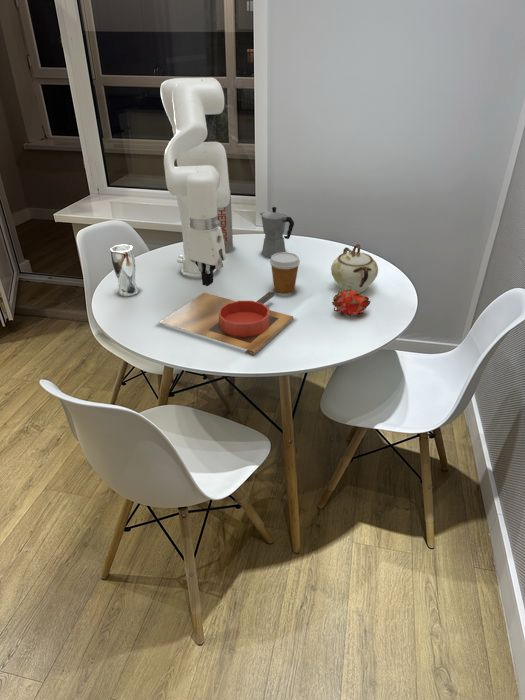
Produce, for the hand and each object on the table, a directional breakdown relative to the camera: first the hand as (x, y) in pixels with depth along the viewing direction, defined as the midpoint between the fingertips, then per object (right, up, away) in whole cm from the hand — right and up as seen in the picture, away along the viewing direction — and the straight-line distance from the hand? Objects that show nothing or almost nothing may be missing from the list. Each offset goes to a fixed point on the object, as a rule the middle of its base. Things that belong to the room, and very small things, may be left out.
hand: (207, 283), depth 142 cm
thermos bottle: (0, +20, +51) cm, 55 cm away
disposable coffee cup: (+23, -1, +18) cm, 29 cm away
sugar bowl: (+45, +1, +21) cm, 50 cm away
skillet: (+13, -10, +1) cm, 16 cm away
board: (+5, -11, +1) cm, 12 cm away
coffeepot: (+21, +17, +45) cm, 53 cm away
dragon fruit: (+42, -8, +6) cm, 43 cm away
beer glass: (-28, 0, +19) cm, 34 cm away
